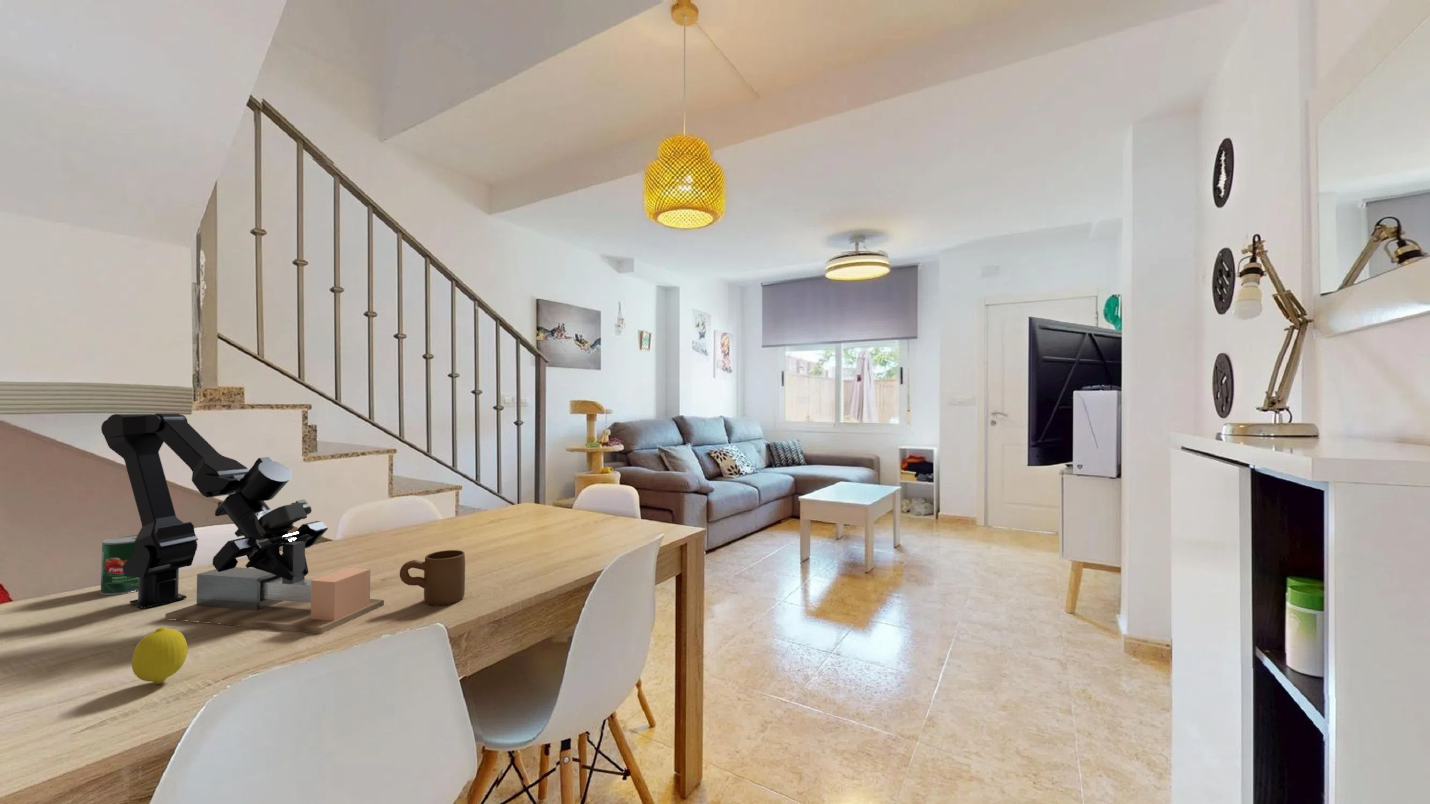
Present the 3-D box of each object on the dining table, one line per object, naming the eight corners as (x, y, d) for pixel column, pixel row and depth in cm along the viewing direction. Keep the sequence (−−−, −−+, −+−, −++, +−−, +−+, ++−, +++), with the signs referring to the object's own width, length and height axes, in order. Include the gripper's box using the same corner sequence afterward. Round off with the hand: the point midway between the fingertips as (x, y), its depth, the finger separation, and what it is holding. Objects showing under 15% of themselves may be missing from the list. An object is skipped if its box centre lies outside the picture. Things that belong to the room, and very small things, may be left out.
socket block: (310, 618, 98) (311, 580, 98) (347, 603, 106) (348, 567, 106) (334, 620, 97) (334, 582, 97) (369, 605, 105) (370, 569, 105)
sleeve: (196, 605, 104) (197, 574, 104) (225, 596, 109) (225, 566, 109) (256, 610, 102) (257, 578, 102) (283, 601, 107) (283, 570, 107)
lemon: (157, 674, 79) (158, 620, 79) (197, 673, 80) (198, 619, 80) (118, 694, 74) (120, 636, 74) (162, 693, 74) (163, 635, 74)
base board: (165, 619, 100) (165, 613, 100) (243, 593, 114) (243, 589, 114) (321, 633, 94) (321, 627, 94) (383, 604, 108) (384, 599, 108)
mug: (401, 614, 103) (402, 565, 103) (396, 603, 109) (396, 556, 109) (468, 601, 110) (469, 555, 110) (460, 591, 116) (460, 547, 116)
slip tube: (215, 595, 104) (216, 540, 105) (233, 589, 108) (234, 536, 108) (316, 603, 101) (317, 546, 101) (331, 597, 104) (332, 542, 104)
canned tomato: (111, 597, 111) (113, 544, 111) (92, 592, 114) (93, 540, 114) (162, 585, 118) (163, 535, 119) (142, 581, 121) (143, 532, 121)
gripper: (226, 496, 95) (278, 562, 93) (321, 482, 113) (365, 537, 111) (189, 538, 96) (239, 604, 94) (288, 518, 115) (332, 572, 113)
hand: (299, 576), depth 103 cm, fingers closed on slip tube, 2 cm apart
